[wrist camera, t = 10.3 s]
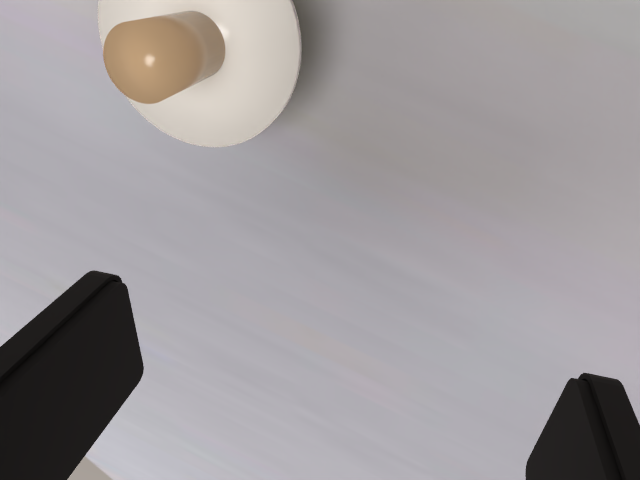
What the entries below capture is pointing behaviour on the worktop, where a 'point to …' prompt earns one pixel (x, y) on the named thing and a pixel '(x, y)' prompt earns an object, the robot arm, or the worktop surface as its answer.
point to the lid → (203, 63)
